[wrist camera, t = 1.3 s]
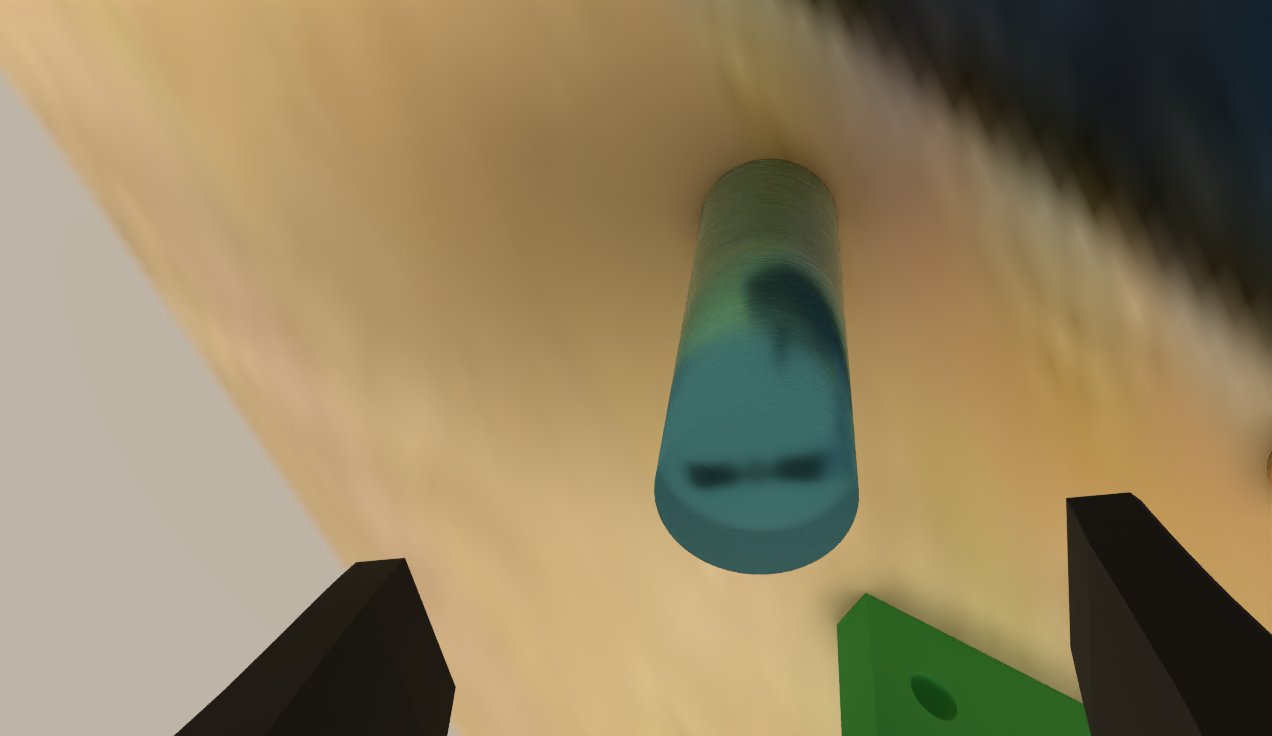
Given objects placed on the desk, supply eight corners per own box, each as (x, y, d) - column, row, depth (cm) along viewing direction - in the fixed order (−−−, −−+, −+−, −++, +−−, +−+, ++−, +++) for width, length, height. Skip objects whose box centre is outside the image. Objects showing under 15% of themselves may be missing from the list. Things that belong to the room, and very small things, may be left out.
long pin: (831, 152, 19) (851, 403, 13) (842, 277, 21) (865, 570, 14) (692, 167, 20) (639, 418, 13) (710, 290, 21) (670, 579, 14)
